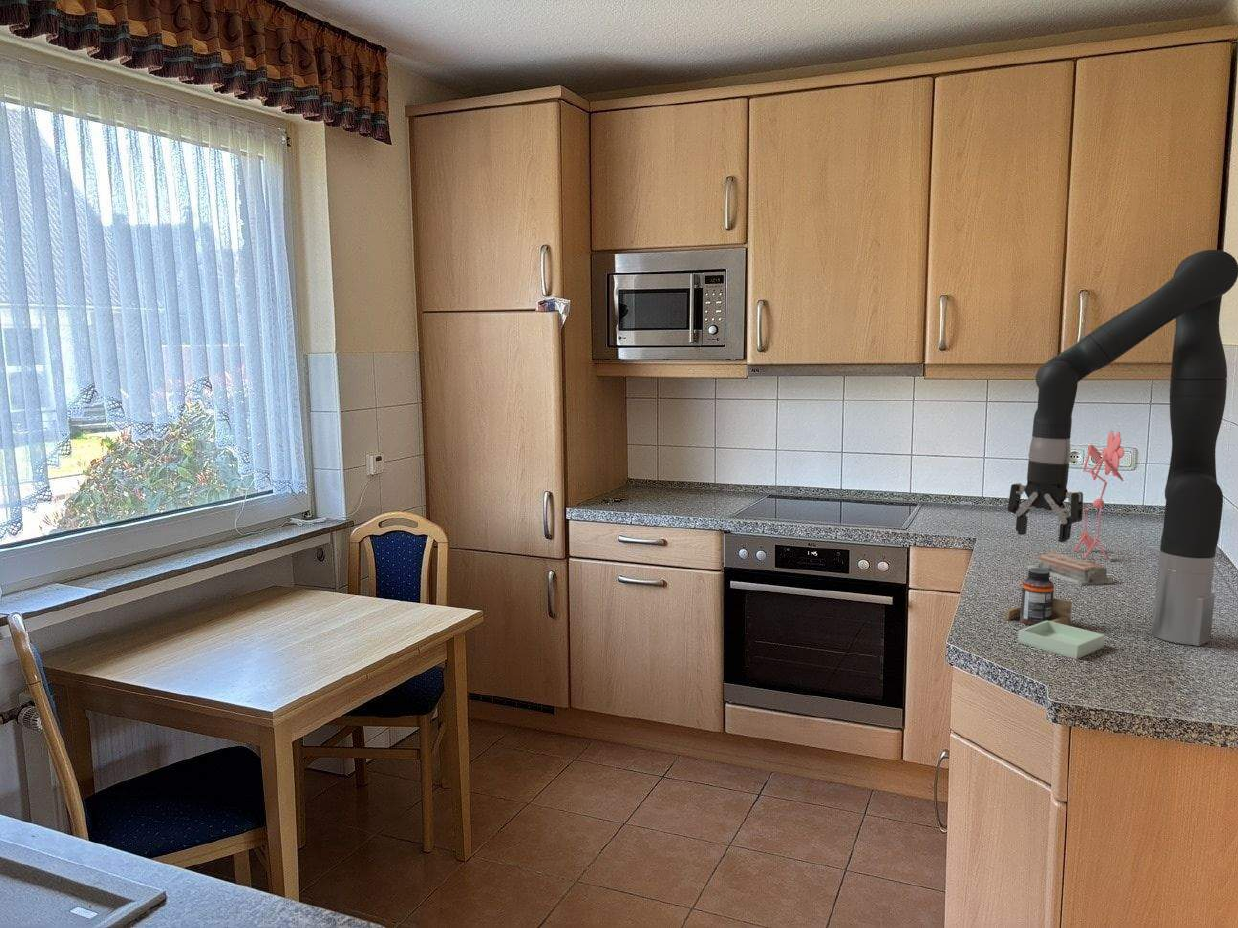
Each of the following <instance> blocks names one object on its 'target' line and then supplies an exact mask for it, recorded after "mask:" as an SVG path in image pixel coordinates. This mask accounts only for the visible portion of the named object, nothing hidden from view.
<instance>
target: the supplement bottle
mask: <svg viewBox="0 0 1238 928" xmlns="http://www.w3.org/2000/svg"><path fill="white" fill-rule="evenodd" d="M1050 577H1051V576H1050V571H1048V570H1046V569H1040V568H1030V569H1028V571H1027V577H1026V578H1024V579H1023V581H1022V585H1021V601H1020V605H1021V611H1020V618H1019V620H1020V622H1021V623H1023V624H1025V625H1027V626H1032V625H1035V624H1038V623H1041V622H1043V621H1046V620H1048V621H1051V619H1052V606H1053V597H1054V591H1055V585H1054V583H1053V581H1052V580H1051V579H1050Z"/></svg>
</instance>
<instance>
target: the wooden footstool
mask: <svg viewBox="0 0 1238 928" xmlns="http://www.w3.org/2000/svg"><path fill="white" fill-rule="evenodd" d="M1020 611H1021V604H1020V605H1018V606H1014V607H1013V608H1009V609H1005V611H1004V621H1008V622H1009V621H1011V620H1014V619H1017V618H1019V617H1020ZM1071 615H1072V601H1070V600H1066V599H1062V598H1059V597H1058V598H1057V597H1054V596H1053V606H1052V619H1051V621H1052V622H1056V623H1060V624H1064V625H1068V626H1071Z"/></svg>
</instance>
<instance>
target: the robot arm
mask: <svg viewBox="0 0 1238 928" xmlns="http://www.w3.org/2000/svg"><path fill="white" fill-rule="evenodd" d="M1237 279H1238V262H1237V259H1236V258H1235V257H1234V256H1233V255H1232V254H1231V253H1229V252H1226V251H1224V250H1222V249H1207V250H1201V251H1198V252H1195V253H1193V254H1190V255H1189V256H1186V257H1185V258H1184V259H1182V260H1181V261H1180V262H1179V264H1178V265H1177V267H1175V270H1174V272H1173V276H1172V278H1170V279H1169V281H1167V282H1165V284H1163V285H1162V286H1161V287H1160V288H1158V289H1157V290H1155V291H1154V292H1153V293H1151V294H1150V295H1148V296H1147V297H1146V298H1143V299H1142V300H1140V301H1139V302H1137V303H1136V304H1134V305H1132V306H1131V307H1129V308H1127V309H1125V310H1124V311H1122V312H1120V313H1119V314H1117V315H1115V316H1113V317H1112V318H1110V319H1109V320H1107V321H1106V322H1104V323H1103V324H1101V325H1099V326H1098V327H1097V328H1096V329H1094V330H1093V331H1091V332H1090V333H1088V334H1087V335H1085V336H1084V337H1082V338H1081V340H1080V339H1079V341H1078V342H1077V343H1075V344H1074V345H1072V346H1071V347H1069V348H1067V349H1066V350H1064V351H1062V352H1060V353H1059V354H1057V355H1055V356H1054V357H1052V358H1051V359H1049V360H1047V361H1046V362H1044V364H1042V365H1041V366H1040V367H1039V368H1038V370H1037V372H1036V373H1035V374H1036V375H1035V383H1036V386H1037V387H1038V394H1037V395H1038V397H1037V408H1036V410H1035V412H1034V415H1033V422H1032V423H1033V424H1032V433H1031V434H1032V435H1031V441H1030V445H1029V452H1028V463H1027V473H1026V475H1027V476H1026V481H1027V482H1026V485H1023V484H1022V483H1019V482H1018V483H1014V484H1011V485H1010V490H1009V491H1010V492H1009V496H1008V497H1009V498H1008V504H1007V511H1008V513H1013V514H1014V515H1015V516H1016V520H1015V521H1016V523H1015V530H1016V531H1015V532H1017V535H1020V536H1023V535H1026V534H1027V530H1028V529H1027V528H1028V516H1027V514H1028V513H1029V512H1031V510H1032V509H1043V510H1045V511H1053V513H1054V515H1055V516H1057V518H1058V519H1059V521H1060V524H1059V532H1058V533H1059V534H1058V542H1060V543H1066V542H1068V540H1070V538H1071V534H1072V533H1071V532H1072V524H1073V523H1078V522H1082V520H1083V509H1084V506H1083V505H1084V502H1083V501H1084V494H1083V492H1082V491H1077V492H1071V491H1068V488H1067V485H1068V482H1069V481H1068V480H1069V469H1070V461H1071V435H1072V425H1073V424H1072V422H1073V421H1072V420H1073V419H1072V418H1073V417H1072V416H1073V411H1074V405H1075V401H1076V398H1077V397H1076V396H1077V392H1078V383H1079V382H1080V381H1082V380H1083V379H1084V378H1086V377H1087V376H1089V375H1090V374H1092V373H1093V372H1095V371H1099V370H1101V369H1103V368H1105V367H1106V366H1108V365H1110V364H1111V363H1113V362H1114V361H1116V360H1117V359H1118V358H1120V357H1121V356H1123V355H1124V354H1126V353H1127V352H1129V351H1130V350H1132V349H1133V348H1135V347H1136V346H1138V345H1139V344H1140V343H1141V342H1143V341H1144V340H1146V339H1147V338H1149V337H1150V336H1151V335H1153V334H1154V333H1155V332H1157V331H1158V330H1159V329H1161V328H1162V327H1164V326H1165V325H1167V324H1169V323H1170V322H1172V321H1173V320H1175V330H1174V333H1175V334H1174V341H1173V347H1172V348H1173V349H1172V358H1171V368H1170V369H1171V370H1170V378H1169V379H1170V381H1169V382H1170V383H1169V420H1170V421H1169V422H1170V431H1171V456H1170V462H1169V469H1168V474H1167V478H1166V484H1165V488H1164V498H1165V509H1164V517H1163V527H1162V534H1161V537H1160V538H1161V539H1160V545H1159V555H1158V556H1159V557H1158V567H1157V577H1156V588H1155V598H1154V607H1153V617H1152V618H1153V620H1152V623H1151V624H1152V629H1151V634H1152V636H1153V637H1156V638H1157V639H1160V640H1162V641H1165V642H1171V643H1175V644H1181V645H1191V646H1192V645H1193V646H1197V647H1200V646H1203V645H1204V644H1206V643H1208V642H1210V641H1211V636H1212V628H1213V627H1212V626H1213V619H1214V618H1213V615H1214V607H1215V597H1216V596H1215V595H1216V594H1215V593H1213V592H1212V590H1213V589H1212V588H1213V580H1214V571H1215V563H1216V562H1215V561H1216V553H1217V545H1218V544H1219V538H1220V531H1221V523H1222V517H1223V516H1222V515H1223V504H1224V494H1223V490H1222V489H1221V486H1220V485H1219V484H1218V480H1217V479H1218V478H1217V466H1216V463H1217V462H1216V446H1217V440H1218V437H1219V434H1220V430H1221V429H1220V428H1221V426H1222V423H1223V422H1222V421H1223V416H1224V412H1225V407H1226V401H1227V399H1226V398H1227V389H1228V388H1227V385H1228V384H1227V383H1228V366H1227V361H1226V355H1225V350H1224V346H1223V341H1222V337H1221V332H1220V331H1221V330H1220V316H1221V315H1220V314H1221V307H1222V300H1223V295H1225V294H1226V293H1227V292H1229V291H1230V290H1231V289H1232V288H1233V287H1234V286H1235V284H1236V282H1237ZM1024 493H1025V495H1026V497H1027V499H1026V500H1025V501H1024V502H1023V503H1022V504H1021V498H1022V495H1023V494H1024ZM1065 500H1068V502H1069V503H1070V513H1069V508H1068V506H1066V503H1065ZM1020 505H1021V506H1020Z"/></svg>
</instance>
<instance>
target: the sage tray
mask: <svg viewBox="0 0 1238 928" xmlns="http://www.w3.org/2000/svg"><path fill="white" fill-rule="evenodd" d="M1105 636H1106V634H1103V633H1100V632H1095V631H1091V630H1088V629H1085V628H1084V629H1083V628H1080V627H1075V626H1072V625H1069V626H1068V625H1064V624H1060V623H1056V622H1052V621H1048V620H1046V621H1043V622H1041V623H1038V624H1035V625H1032V626H1031V625H1029V626H1028V627H1024V628H1022V629H1019V630H1018V635H1017V644H1020V643H1021V644H1020V645H1023V644H1024V646H1027V647H1031V648H1034V647H1035V649H1038V650H1041V649H1042V650H1043V651H1045V652H1050V653H1053V654H1055V655H1060V656H1063V657H1068V658H1072V659H1075V660H1078V659H1080V658H1083V657H1084V656H1086V655H1090V654H1092V653H1094V652H1096V651H1099V650H1101V649H1103V648H1104V647H1105V639H1106V638H1105ZM1042 650H1041V651H1042Z"/></svg>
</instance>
